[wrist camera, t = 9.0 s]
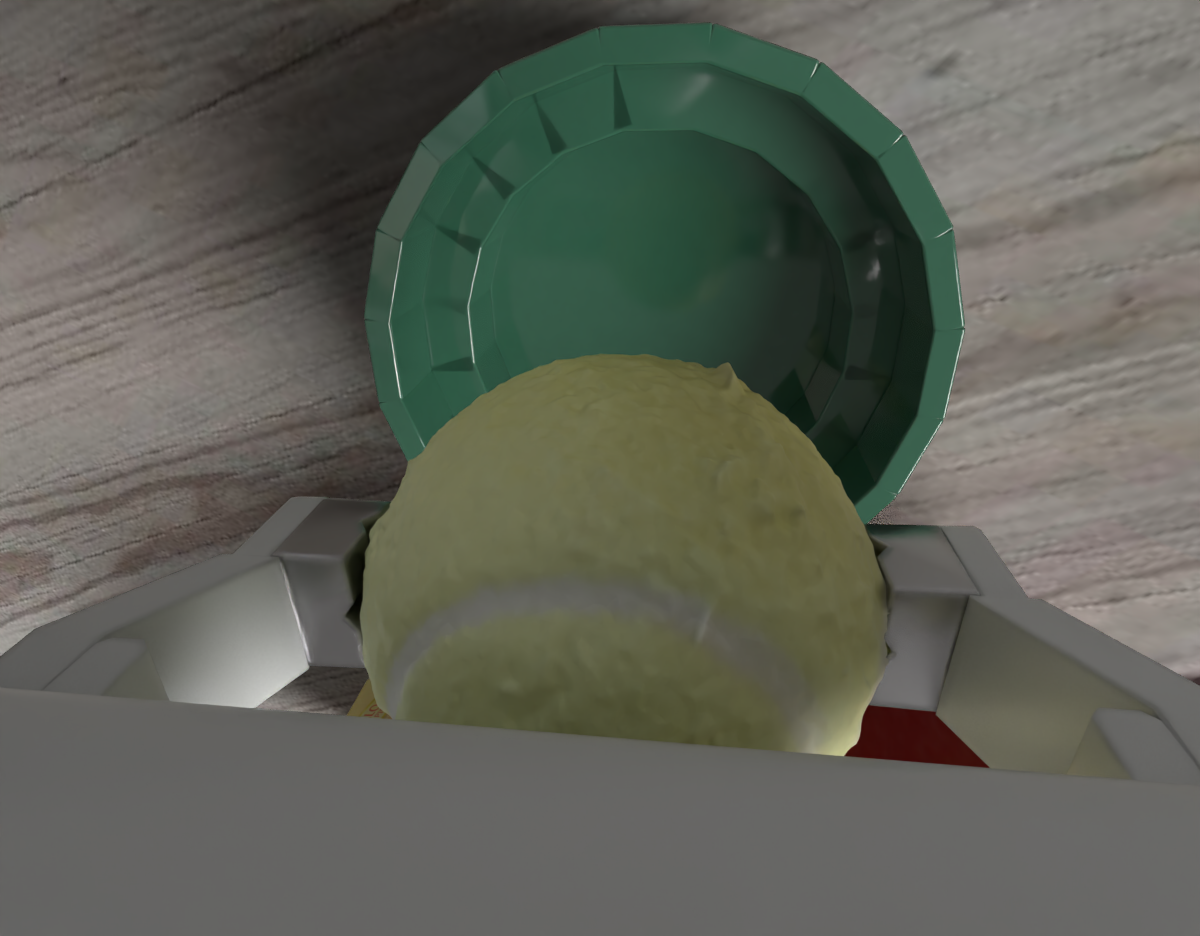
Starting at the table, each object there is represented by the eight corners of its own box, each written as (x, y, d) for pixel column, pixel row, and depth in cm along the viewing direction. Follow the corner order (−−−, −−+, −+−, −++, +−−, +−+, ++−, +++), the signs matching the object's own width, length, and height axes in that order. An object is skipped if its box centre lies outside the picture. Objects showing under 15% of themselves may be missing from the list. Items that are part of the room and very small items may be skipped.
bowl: (406, 52, 19) (311, 34, 15) (945, 36, 18) (1039, 11, 13) (462, 498, 26) (409, 587, 21) (859, 515, 25) (900, 617, 20)
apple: (837, 803, 31) (924, 1222, 20) (695, 629, 28) (697, 1015, 16) (1122, 706, 27) (1453, 1170, 15) (997, 485, 23) (1304, 869, 12)
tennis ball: (418, 553, 14) (211, 893, 8) (513, 220, 11) (285, 366, 5) (719, 662, 14) (739, 1064, 8) (897, 371, 11) (1138, 685, 5)
